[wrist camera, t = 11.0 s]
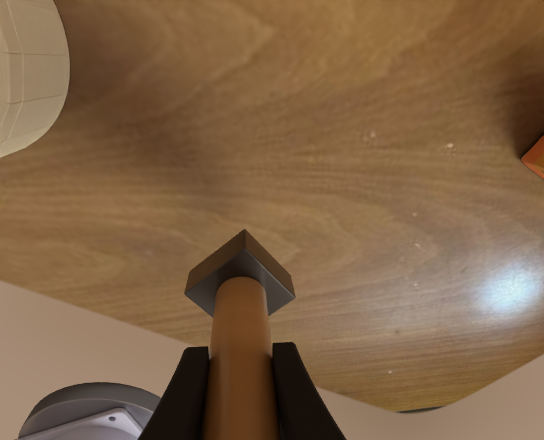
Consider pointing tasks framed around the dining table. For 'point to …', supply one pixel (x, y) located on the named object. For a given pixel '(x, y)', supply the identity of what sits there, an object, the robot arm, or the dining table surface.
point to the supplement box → (535, 158)
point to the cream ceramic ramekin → (30, 71)
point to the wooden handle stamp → (240, 338)
